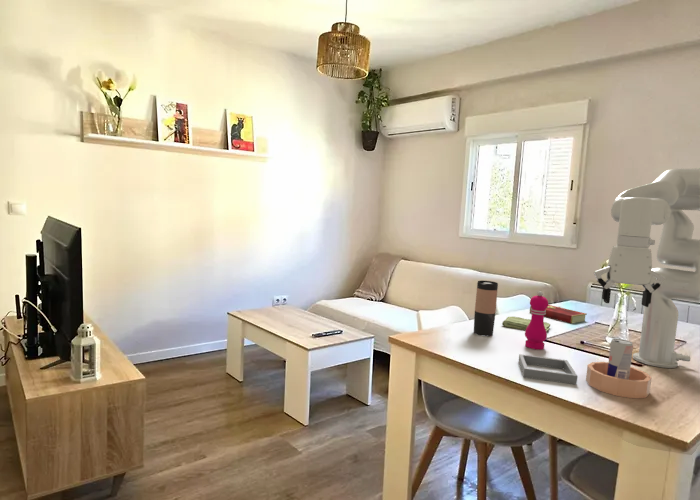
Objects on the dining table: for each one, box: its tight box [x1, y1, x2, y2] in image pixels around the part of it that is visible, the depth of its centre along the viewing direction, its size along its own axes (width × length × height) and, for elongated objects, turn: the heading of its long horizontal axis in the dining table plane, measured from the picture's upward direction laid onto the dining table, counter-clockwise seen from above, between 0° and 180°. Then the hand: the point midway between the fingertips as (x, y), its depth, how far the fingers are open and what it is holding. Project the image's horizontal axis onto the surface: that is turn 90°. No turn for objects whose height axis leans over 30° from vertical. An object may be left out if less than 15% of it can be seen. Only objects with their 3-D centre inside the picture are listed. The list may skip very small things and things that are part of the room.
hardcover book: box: [529, 304, 588, 324], centre depth 215 cm, size 12×21×4 cm, turn 34°
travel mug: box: [473, 280, 499, 337], centre depth 176 cm, size 8×8×20 cm
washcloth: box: [501, 316, 551, 333], centre depth 192 cm, size 13×18×3 cm
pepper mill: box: [524, 290, 549, 350], centre depth 162 cm, size 7×7×20 cm
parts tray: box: [518, 353, 578, 385], centre depth 137 cm, size 14×14×2 cm
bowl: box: [585, 361, 652, 399], centre depth 129 cm, size 15×15×4 cm
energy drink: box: [607, 338, 634, 380], centre depth 129 cm, size 5×5×12 cm
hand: (625, 304), depth 128 cm, fingers open, 9 cm apart
